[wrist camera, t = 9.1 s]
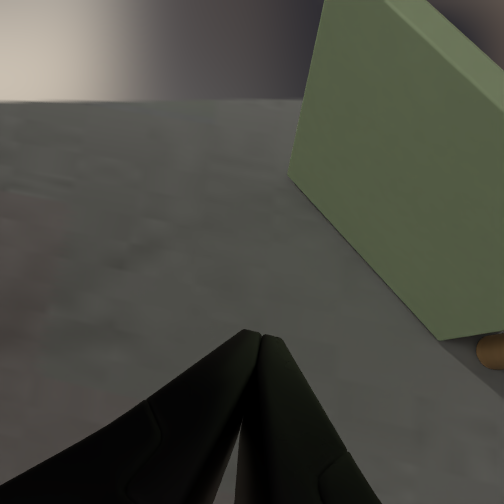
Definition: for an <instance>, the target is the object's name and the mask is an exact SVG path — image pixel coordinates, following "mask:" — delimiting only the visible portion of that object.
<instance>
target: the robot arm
mask: <svg viewBox="0 0 504 504" xmlns="http://www.w3.org/2000/svg"><path fill="white" fill-rule="evenodd" d="M261 337H262V338H261ZM242 419H243V420H242ZM241 423H242V425H241ZM240 427H241V430H240ZM239 431H240V438H239V449H238V462H237V475H236V488H235V501H234V504H382V503H381V502H380V500H379V499H378V497H377V496H376V495H375V493H374V492H373V490H372V488H371V487H370V485H369V484H368V482H367V480H366V479H365V477H364V476H363V474H362V473H361V471H360V469H359V468H358V466H357V464H356V463H355V461H354V459H353V458H352V456H351V454H350V453H349V452H347V449H346V447H345V445H344V444H343V442H342V440H341V438H340V437H339V435H338V433H337V432H336V430H335V428H334V427H333V425H332V423H331V421H330V420H329V418H328V416H327V415H326V413H325V411H324V410H323V408H322V406H321V404H320V403H319V401H318V399H317V398H316V396H315V394H314V392H313V391H312V389H311V387H310V386H309V384H308V382H307V381H306V379H305V377H304V375H303V374H302V372H301V370H300V369H299V367H298V365H297V364H296V362H295V360H294V358H293V357H292V355H291V353H290V352H289V350H288V348H287V347H286V345H285V343H284V341H283V340H282V339H281V338H279V337H275V336H271V335H267V334H265V335H263V336H261V334H260V333H259V332H255V331H250V330H246V329H243V330H241V331H240V332H238V333H237V334H236V335H234V336H233V337H232V338H230V339H229V340H227V341H226V342H225V343H223V344H222V345H220V346H219V347H218V348H216V349H215V350H214V351H212V352H211V353H209V354H208V355H207V356H205V357H204V358H202V359H201V360H200V361H198V362H197V363H196V364H194V365H193V366H191V367H190V368H189V369H187V370H186V371H184V372H183V373H182V374H180V375H179V376H178V377H176V378H175V379H173V380H172V381H171V382H169V383H168V384H166V385H165V386H164V387H162V388H161V389H160V390H158V391H157V392H155V393H154V394H153V395H151V396H150V397H148V398H147V399H146V400H143V401H142V402H140V403H139V404H138V405H136V406H135V407H134V408H132V409H131V410H129V411H128V412H126V413H125V414H123V415H122V416H120V417H119V418H117V419H116V420H114V421H113V422H111V423H110V424H108V425H107V426H105V427H103V428H102V429H100V430H98V431H97V432H95V433H93V434H92V435H90V436H88V437H86V438H85V439H83V440H81V441H80V442H78V443H76V444H74V445H72V446H71V447H69V448H67V449H65V450H63V451H62V452H60V453H58V454H56V455H54V456H53V457H51V458H49V459H47V460H45V461H44V462H42V463H40V464H38V465H36V466H35V467H33V468H31V469H29V470H27V471H26V472H24V473H22V474H20V475H18V476H17V477H15V478H13V479H11V480H9V481H7V482H6V483H4V484H2V485H0V504H213V501H214V499H215V496H216V493H217V491H218V488H219V485H220V483H221V480H222V477H223V475H224V472H225V470H226V467H227V464H228V462H229V459H230V456H231V454H232V451H233V448H234V446H235V443H236V440H237V437H238V434H239Z"/></svg>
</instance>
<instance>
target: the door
mask: <svg viewBox="0 0 504 504" xmlns="http://www.w3.org/2000/svg"><path fill="white" fill-rule="evenodd" d="M287 175H288V176H289V178H290V179H291V180H292V181H293V182H294V183H295V184H296V185H297V186H298V187H299V189H300V190H301V191H302V192H303V193H304V194H305V195H306V196H307V197H308V198H309V199H310V201H311V202H312V203H313V204H314V205H315V206H316V207H317V208H318V209H319V210H320V211H321V213H322V214H323V215H324V216H325V217H326V218H327V219H328V220H329V221H330V222H331V224H332V225H333V226H334V227H335V228H336V229H337V230H338V231H339V232H340V233H341V234H342V236H343V237H344V238H345V239H346V240H347V241H348V242H349V243H350V244H351V245H352V246H353V248H354V249H355V250H356V251H357V252H358V253H359V254H360V255H361V256H362V257H363V259H364V260H365V261H366V262H367V263H368V264H369V265H370V266H371V267H372V268H373V269H374V271H375V272H376V273H377V274H378V275H379V276H380V277H381V278H382V279H383V280H384V281H385V283H386V284H387V285H388V286H389V287H390V288H391V289H392V290H393V291H394V292H395V294H396V295H397V296H398V297H399V298H400V299H401V300H402V301H403V302H404V303H405V304H406V306H407V307H408V308H409V309H410V310H411V311H412V312H413V313H414V314H415V315H416V316H417V318H418V319H419V320H420V321H421V322H422V323H423V324H424V325H425V326H426V327H427V329H428V330H429V331H430V332H431V333H432V334H433V335H434V336H435V337H436V338H437V339H438V340H439V341H442V340H448V339H455V338H461V337H467V336H474V335H480V334H486V333H492V332H499V331H504V71H503V70H502V69H501V68H500V67H499V66H498V65H497V64H496V63H495V62H494V61H492V60H491V59H490V58H489V57H488V56H487V55H486V54H485V53H484V52H483V51H481V50H480V49H479V48H478V47H477V46H476V45H475V44H474V43H473V42H472V41H470V40H469V39H468V38H467V37H466V36H465V35H464V34H463V33H462V32H461V31H459V30H458V29H457V28H456V27H455V26H454V25H453V24H452V23H451V22H449V21H448V20H447V19H446V18H445V17H444V16H443V15H442V14H440V13H439V11H437V10H436V9H435V8H434V7H433V6H432V5H431V4H429V2H427V1H426V0H324V5H323V10H322V14H321V19H320V24H319V28H318V33H317V37H316V42H315V47H314V51H313V57H312V61H311V66H310V70H309V75H308V80H307V84H306V89H305V94H304V98H303V103H302V108H301V112H300V117H299V122H298V126H297V131H296V136H295V140H294V145H293V150H292V154H291V159H290V164H289V168H288V173H287Z"/></svg>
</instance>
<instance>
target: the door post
mask: <svg viewBox="0 0 504 504" xmlns="http://www.w3.org/2000/svg"><path fill="white" fill-rule="evenodd" d="M476 353H477V357H478V359H479V361H480V362H481V363H482V364H483V365H484V366H485V367H487V368H489V369H493V370H504V333H501V334H494V335H488V336H485V337H483V338H482V339H481V340H480V341H479V342H478V344H477V348H476Z"/></svg>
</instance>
